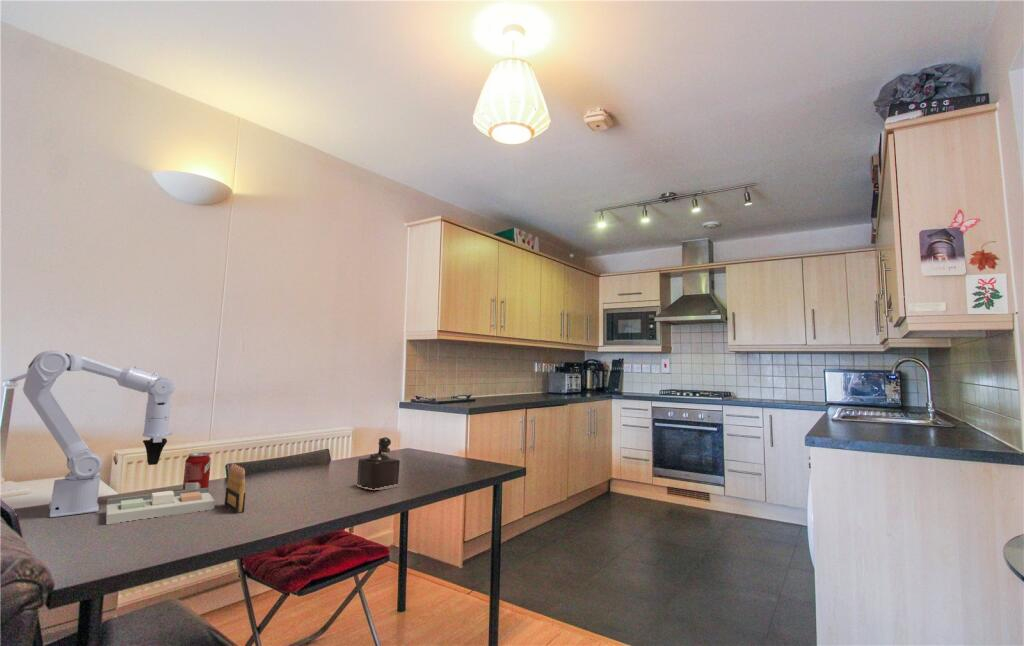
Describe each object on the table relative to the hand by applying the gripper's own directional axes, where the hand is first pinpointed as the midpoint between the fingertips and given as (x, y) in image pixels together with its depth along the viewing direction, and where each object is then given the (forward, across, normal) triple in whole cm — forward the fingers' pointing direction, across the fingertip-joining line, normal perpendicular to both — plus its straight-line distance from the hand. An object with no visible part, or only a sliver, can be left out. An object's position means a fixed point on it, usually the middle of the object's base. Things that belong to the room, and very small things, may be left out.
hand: (152, 464), depth 140 cm
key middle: (+9, -14, -2) cm, 17 cm away
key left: (+10, -14, +5) cm, 18 cm away
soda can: (+11, +3, -12) cm, 16 cm away
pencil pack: (+11, -22, -18) cm, 30 cm away
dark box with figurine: (+11, -23, -62) cm, 67 cm away
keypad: (+10, -14, -2) cm, 18 cm away
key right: (+10, -14, -8) cm, 19 cm away
